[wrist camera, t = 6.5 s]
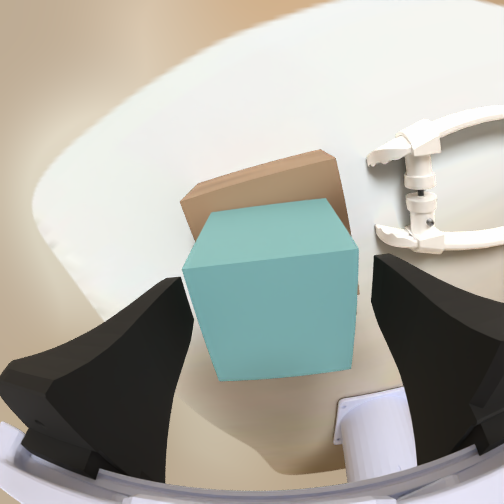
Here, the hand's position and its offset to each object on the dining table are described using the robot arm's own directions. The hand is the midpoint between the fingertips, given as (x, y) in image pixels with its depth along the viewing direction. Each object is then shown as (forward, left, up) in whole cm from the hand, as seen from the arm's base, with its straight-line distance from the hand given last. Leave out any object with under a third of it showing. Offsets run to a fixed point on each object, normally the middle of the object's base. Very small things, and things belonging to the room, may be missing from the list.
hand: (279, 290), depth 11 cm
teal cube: (0, 0, -3) cm, 3 cm away
